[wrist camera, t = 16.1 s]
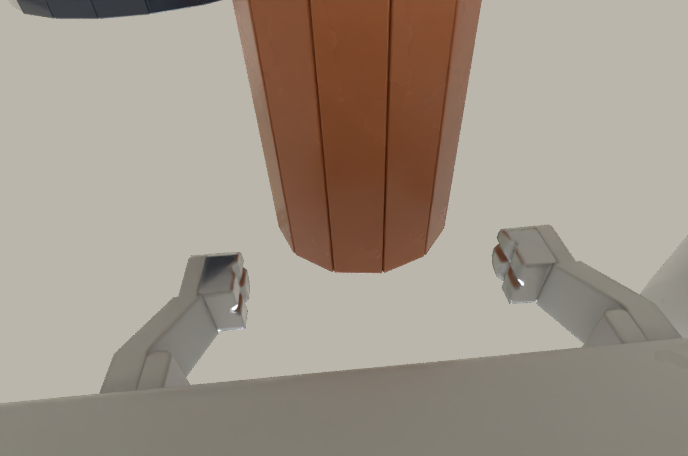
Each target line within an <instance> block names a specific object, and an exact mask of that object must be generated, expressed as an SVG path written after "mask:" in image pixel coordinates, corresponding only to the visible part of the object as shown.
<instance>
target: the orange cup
mask: <svg viewBox="0 0 688 456" xmlns="http://www.w3.org/2000/svg"><path fill="white" fill-rule="evenodd" d="M481 1H482V0H233V5H234V10H235V15H236V20H237V25H238V30H239V35H240V39H241V44H242V48H243V54H244V59H245V64H246V69H247V74H248V78H249V83H250V88H251V93H252V98H253V103H254V108H255V112H256V117H257V122H258V127H259V132H260V137H261V141H262V147H263V151H264V156H265V161H266V166H267V171H268V176H269V181H270V186H271V190H272V195H273V200H274V205H275V210H276V215H277V220H278V224H279V228H280V230H281V231H282V233H283V235H284V236H285V238H286V240H287V242H288V243H289V245H290V247H291V249H292V250H293V252H294V253H296V255H298V256H300V257H302V258H304V259H306V260H308V261H310V262H312V263H315V264H317V265H319V266H321V267H323V268H325V269H327V270H329V271H331V272H333V271H335V272H336V273H382V271H383V272H384V273H385V272H388V271H390V270H392V269H395V268H397V267H399V266H402V265H404V264H407V263H409V262H411V261H414V260H416V259H418V258H421V257H423V256H424V255H426V254H427V252H428V251H429V249H430V248H431V246H432V245H433V243H434V242H435V240H436V239H437V238H438V236H439V235H440V233H441V232H442V230H443V229H444V226H445V220H446V214H447V208H448V202H449V195H450V190H451V184H452V177H453V171H454V165H455V159H456V153H457V147H458V141H459V134H460V129H461V123H462V117H463V111H464V104H465V99H466V93H467V86H468V80H469V74H470V68H471V62H472V56H473V49H474V44H475V38H476V32H477V26H478V19H479V13H480V8H481Z"/></svg>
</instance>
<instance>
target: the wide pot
mask: <svg viewBox="0 0 688 456" xmlns="http://www.w3.org/2000/svg"><path fill="white" fill-rule="evenodd" d="M9 1H10V3H11V5H12V6H13V7H15V8H16V9H18V10H20V11H21V12H23V13H24V14H30V15H36V16H42V17H48V18H56V19H99V18H100V19H103V18H114V17H125V16H136V15H148V14H150V13H151V14H155V13H161V12H167V11H172V10H178V9H184V8H190V7H196V6H200V5H205V4H209V3H213V2H217V1H220V0H9Z"/></svg>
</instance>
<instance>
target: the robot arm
mask: <svg viewBox="0 0 688 456" xmlns="http://www.w3.org/2000/svg"><path fill="white" fill-rule="evenodd" d="M497 239H498V242H499V244H498V245H497V246H496V247H495V248H494V250H493V254H492V264H493V268H494V271H495V274H496V276H497V277H498V278H500V279H501V280H503V281H504V282H503V285H502V289H503V291H504V293H505V295H506V297H507V299H508V302H509V304H517V303H532V302H536V304H537V305H538V306H540V307H541V308H542V309H543V310H544V311H546V312H547V313H548V314H549V315H550V316H552V317H553V318H554V319H555V320H556V321H558V322H559V323H560V324H561V325H562V326H564V327H565V328H566V329H567V330H568V331H570V332H571V333H572V334H573V335H574V336H576V337H577V338H578V339H579V340H580V341H582V342H583V343H584V345H583V346H582V348H572V349H563V350H551V351H541V352H530V353H520V354H510V355H499V356H489V357H479V358H469V359H458V360H448V361H437V362H427V363H418V364H406V365H395V366H386V367H375V368H364V369H353V370H343V371H333V372H322V373H312V374H302V375H292V376H280V377H270V378H259V379H249V380H239V381H229V382H217V383H207V384H197V385H190V384H189V382H188V380H187V379H186V377H187V375H188V374H189V373H190V371H191V370H192V368H193V367H194V366H195V364H196V363H197V361H198V360H199V359H200V358H201V356H202V355H203V353H204V352H205V351H206V349H207V348H208V347H209V345H210V344H211V342H212V341H213V340H214V338H215V337H216V336H217V334H218V332H219V331H227V330H235V329H244V328H246V319H247V312H248V311H247V307H246V304H245V303H246V302H247V300H248V299H249V293H250V285H249V277H248V273H247V270H246V269H245V268H243V263H244V260H243V256H242V254H241V253H240V252H234V253H217V254H207V255H192V256H191V257H190V258H189V260H188V263H187V267H186V271H185V274H184V278H183V281H182V285H181V289H180V293H179V296H178V297H174V298H172V300H170V301H169V302H168V303H167V304H166V305H165V306H164V307H163V308H162V309H161V310H160V311H159V312H158V313H157V314H156V315H155V316H153V317H152V318H151V320H149V321H148V322H147V323H146V324H145V325H144V326H143V327H142V328H141V329H140V330H139V331H138V332H137V333H136V334H135V335H133V336H132V337H131V338H130V339H129V340H128V341H127V342H126V343H125V344H124V345H123V346H122V347H121V348H120V349H119V350H118V351H117V352H116V353H115V354H114V356H113V358H112V361H111V364H110V366H109V369H108V372H107V374H106V377H105V380H104V382H103V385H102V388H101V390H100V393H99V394H92V395H82V396H72V397H61V398H50V399H40V400H30V401H20V402H9V403H0V456H688V236H687V237H686V238H685V239H684V240H683V242H682V243H681V244H680V245H679V246H678V247H677V249H676V250H675V251H674V252H673V253H672V255H671V256H670V257H669V258H668V260H667V261H666V262H665V263H664V264H663V266H662V267H661V268H660V269H659V270H658V271H657V273H656V274H655V275H654V276H653V277H652V279H651V280H650V281H649V282H648V284H647V285H646V287H645V288H644V289H643V291H642V292H641V294H640V295H639V294H638V293H636V292H634V291H632V290H631V289H629V288H627V287H625V286H624V285H622V284H620V283H618V282H616V281H615V280H613V279H611V278H609V277H607V276H606V275H604V274H602V273H601V272H599V271H597V270H595V269H593V268H592V267H590V266H588V265H587V264H585V263H583V262H581V261H575V259H574V258H573V256H572V255H571V253H570V252H569V251H568V249H567V248H566V246H565V245H564V243H563V242H562V241H561V239H560V237H559V236H558V234H557V233H556V231H555V230H554V229H553V227H552V226H550V225H539V226H532V227H531V226H529V227H519V228H508V229H501V230H500V231H499V233H498V236H497Z"/></svg>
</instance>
